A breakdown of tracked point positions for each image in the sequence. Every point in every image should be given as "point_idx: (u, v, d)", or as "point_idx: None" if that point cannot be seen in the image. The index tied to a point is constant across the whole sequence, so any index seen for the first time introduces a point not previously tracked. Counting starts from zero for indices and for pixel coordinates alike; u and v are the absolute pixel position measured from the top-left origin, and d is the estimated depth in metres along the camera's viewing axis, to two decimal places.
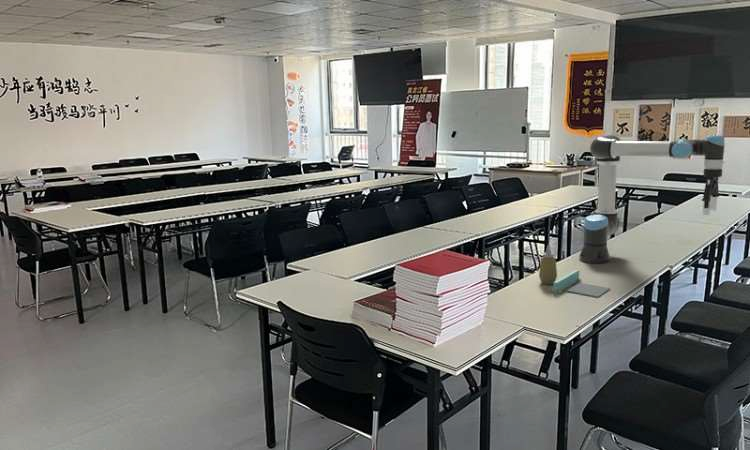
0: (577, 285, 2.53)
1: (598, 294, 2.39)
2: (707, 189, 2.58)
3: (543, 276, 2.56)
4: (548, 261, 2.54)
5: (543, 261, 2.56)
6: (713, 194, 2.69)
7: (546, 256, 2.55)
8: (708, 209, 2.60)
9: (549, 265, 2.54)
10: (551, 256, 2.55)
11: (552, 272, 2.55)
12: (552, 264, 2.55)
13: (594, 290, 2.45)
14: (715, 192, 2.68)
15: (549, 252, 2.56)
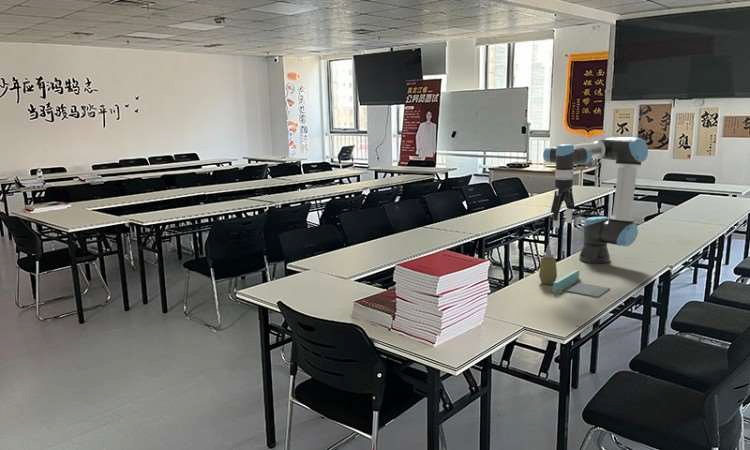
0: (577, 285, 2.53)
1: (598, 294, 2.39)
2: (555, 200, 2.47)
3: (543, 276, 2.56)
4: (548, 261, 2.54)
5: (543, 261, 2.56)
6: (568, 206, 2.58)
7: (546, 256, 2.55)
8: (557, 221, 2.49)
9: (549, 265, 2.54)
10: (551, 256, 2.55)
11: (552, 272, 2.55)
12: (552, 264, 2.55)
13: (594, 290, 2.45)
14: (569, 204, 2.57)
15: (549, 252, 2.56)
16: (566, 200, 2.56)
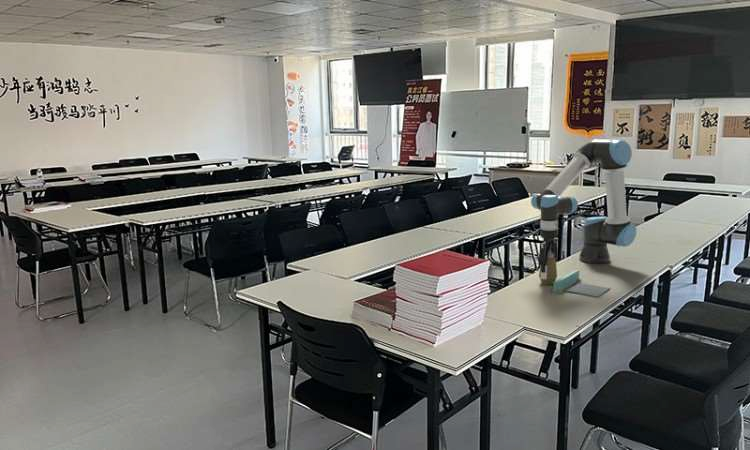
0: (577, 285, 2.53)
1: (598, 294, 2.39)
2: (541, 253, 2.52)
3: None
4: (548, 261, 2.54)
5: None
6: None
7: None
8: (545, 273, 2.54)
9: (549, 265, 2.54)
10: (551, 256, 2.55)
11: (552, 272, 2.55)
12: (552, 264, 2.55)
13: (594, 290, 2.45)
14: None
15: (549, 252, 2.56)
16: None
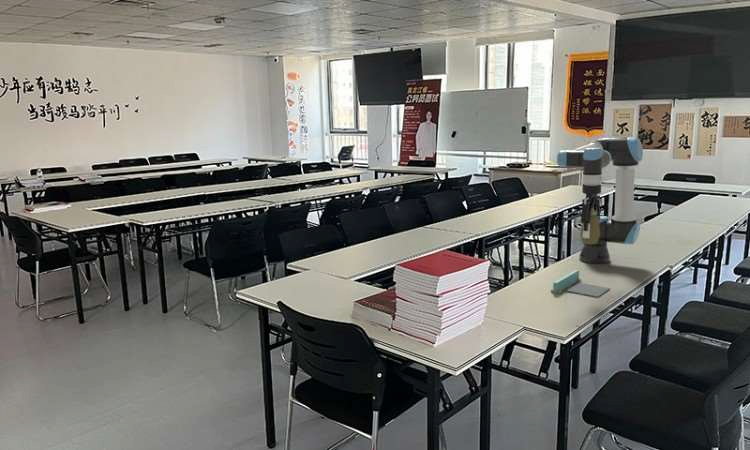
0: (577, 285, 2.53)
1: (598, 294, 2.39)
2: (584, 210, 2.35)
3: None
4: (591, 219, 2.37)
5: None
6: None
7: None
8: (587, 232, 2.38)
9: (592, 223, 2.37)
10: (594, 213, 2.38)
11: (595, 231, 2.38)
12: (596, 222, 2.38)
13: (594, 290, 2.45)
14: None
15: (592, 209, 2.39)
16: None
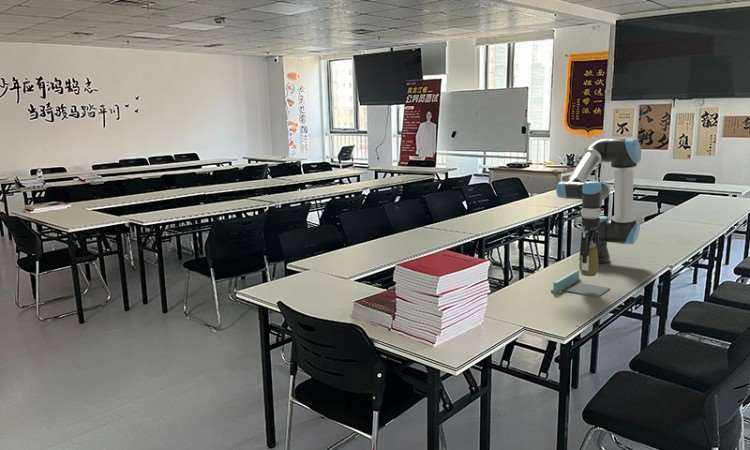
0: (577, 285, 2.53)
1: (598, 294, 2.39)
2: (583, 243, 2.37)
3: None
4: (590, 251, 2.40)
5: None
6: None
7: None
8: (586, 264, 2.40)
9: (591, 255, 2.40)
10: (593, 246, 2.41)
11: (594, 263, 2.41)
12: (594, 255, 2.40)
13: (594, 290, 2.45)
14: None
15: (591, 242, 2.41)
16: (591, 240, 2.44)
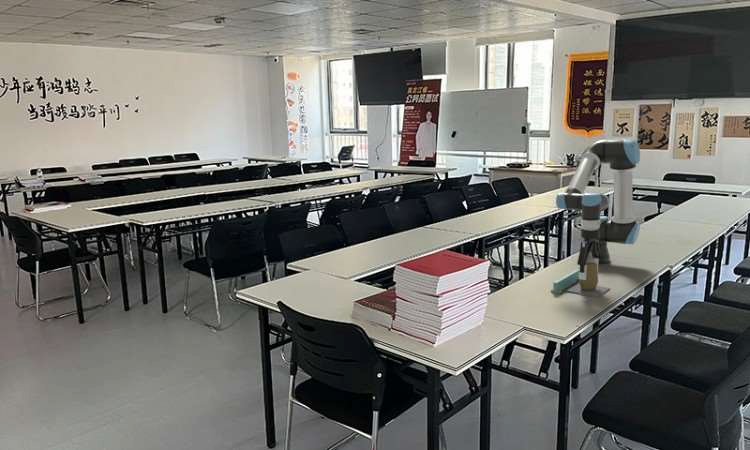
0: (577, 285, 2.53)
1: (598, 294, 2.39)
2: (582, 252, 2.37)
3: (584, 281, 2.43)
4: (589, 266, 2.42)
5: None
6: (594, 255, 2.49)
7: (587, 261, 2.42)
8: (584, 274, 2.39)
9: (590, 270, 2.42)
10: (592, 261, 2.42)
11: (593, 278, 2.42)
12: (594, 269, 2.42)
13: (594, 290, 2.45)
14: (595, 253, 2.47)
15: (590, 257, 2.43)
16: (592, 250, 2.46)
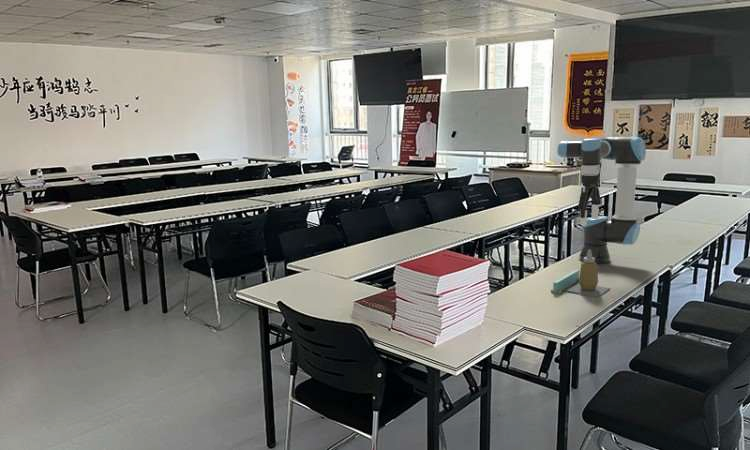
0: (577, 285, 2.53)
1: (598, 294, 2.39)
2: (582, 197, 2.39)
3: (584, 281, 2.43)
4: (589, 266, 2.42)
5: (584, 266, 2.43)
6: (594, 201, 2.50)
7: (587, 261, 2.43)
8: (584, 219, 2.41)
9: (590, 270, 2.42)
10: (592, 261, 2.42)
11: (593, 278, 2.42)
12: (594, 269, 2.42)
13: (594, 290, 2.45)
14: (595, 199, 2.49)
15: (590, 256, 2.43)
16: (592, 196, 2.48)
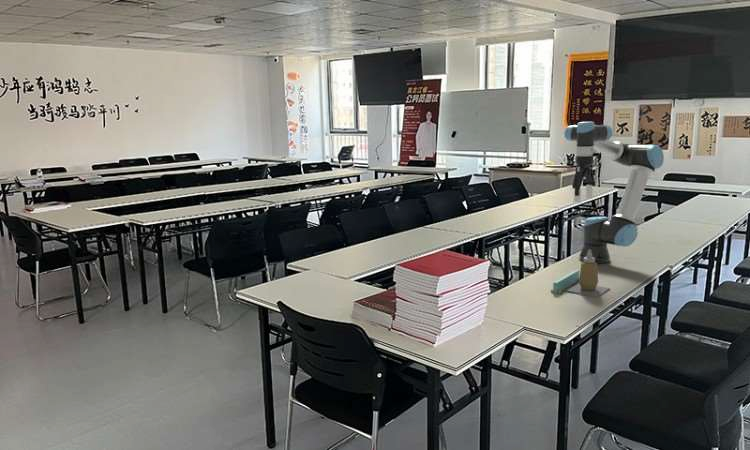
0: (577, 285, 2.53)
1: (598, 294, 2.39)
2: (577, 176, 2.55)
3: (584, 281, 2.43)
4: (589, 266, 2.42)
5: (584, 266, 2.43)
6: (588, 182, 2.66)
7: (587, 261, 2.43)
8: (579, 197, 2.56)
9: (590, 270, 2.42)
10: (592, 261, 2.42)
11: (593, 278, 2.42)
12: (594, 269, 2.42)
13: (594, 290, 2.45)
14: (590, 180, 2.64)
15: (590, 256, 2.43)
16: (587, 176, 2.63)
